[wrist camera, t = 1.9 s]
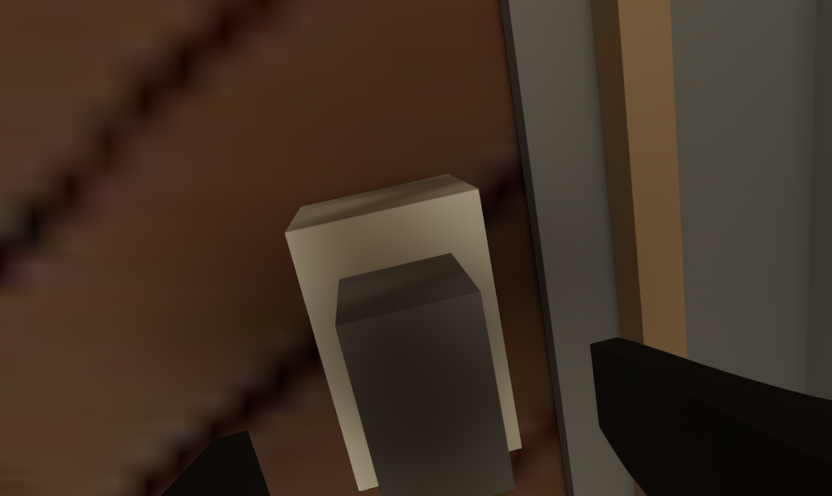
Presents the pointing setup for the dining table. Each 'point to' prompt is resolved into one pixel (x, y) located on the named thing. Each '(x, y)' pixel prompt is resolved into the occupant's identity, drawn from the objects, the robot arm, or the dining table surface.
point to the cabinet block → (410, 336)
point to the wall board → (675, 193)
